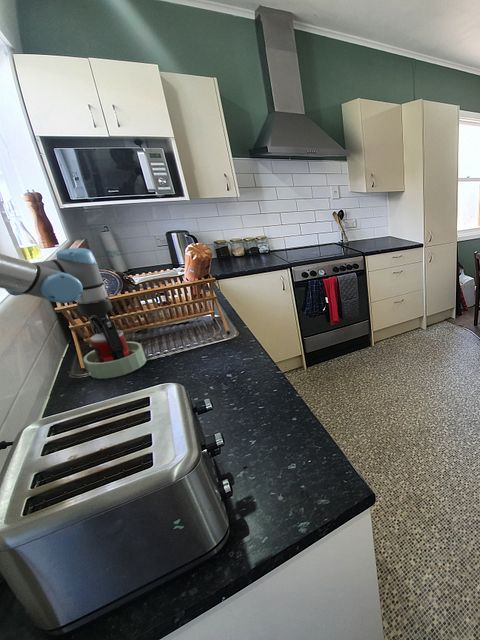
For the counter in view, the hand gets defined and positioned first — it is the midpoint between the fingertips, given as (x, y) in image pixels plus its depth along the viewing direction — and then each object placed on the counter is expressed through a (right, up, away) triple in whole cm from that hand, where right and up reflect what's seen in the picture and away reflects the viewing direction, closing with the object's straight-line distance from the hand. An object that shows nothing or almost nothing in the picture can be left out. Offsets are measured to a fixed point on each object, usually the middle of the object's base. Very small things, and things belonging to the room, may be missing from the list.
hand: (117, 363), depth 115 cm
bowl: (0, -1, +1) cm, 2 cm away
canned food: (0, 0, 0) cm, 0 cm away
